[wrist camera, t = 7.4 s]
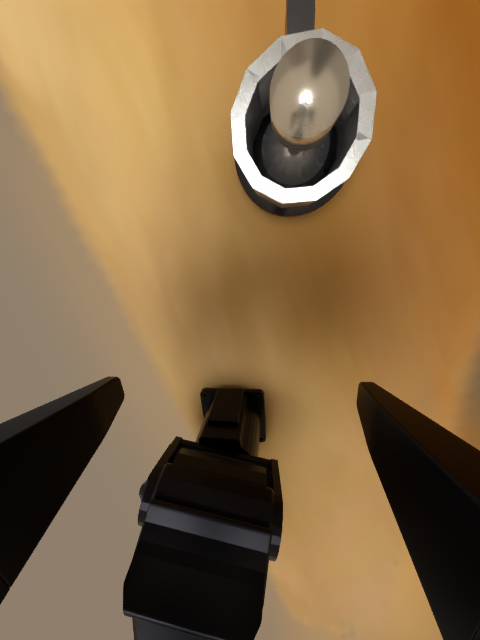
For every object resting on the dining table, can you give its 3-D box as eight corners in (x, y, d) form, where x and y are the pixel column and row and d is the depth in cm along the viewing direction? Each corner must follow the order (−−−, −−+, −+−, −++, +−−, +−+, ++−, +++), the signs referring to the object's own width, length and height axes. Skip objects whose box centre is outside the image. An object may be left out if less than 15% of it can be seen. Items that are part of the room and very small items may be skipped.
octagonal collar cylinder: (348, 211, 18) (377, 207, 13) (240, 220, 19) (227, 219, 14) (362, 42, 15) (407, -51, 10) (230, 66, 16) (208, -6, 11)
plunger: (326, 182, 16) (364, 152, 9) (263, 188, 17) (253, 164, 10) (329, 104, 15) (379, -5, 8) (260, 114, 16) (247, 22, 8)
